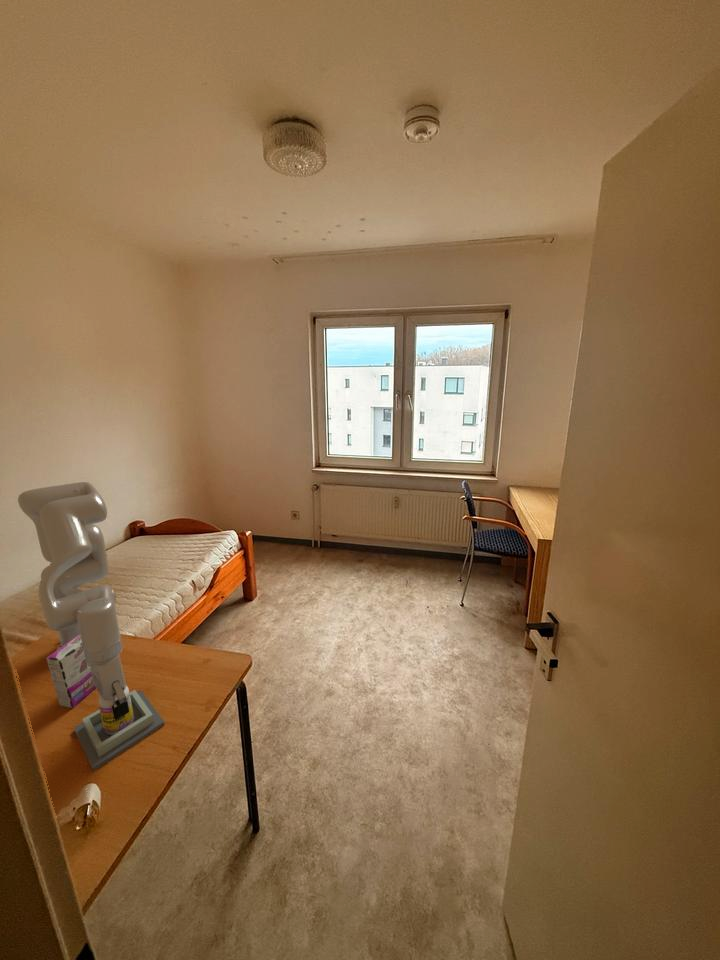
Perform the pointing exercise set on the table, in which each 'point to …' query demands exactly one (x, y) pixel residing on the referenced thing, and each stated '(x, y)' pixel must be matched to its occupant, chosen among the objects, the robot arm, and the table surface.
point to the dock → (109, 746)
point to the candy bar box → (70, 673)
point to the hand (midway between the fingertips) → (115, 704)
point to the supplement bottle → (107, 715)
